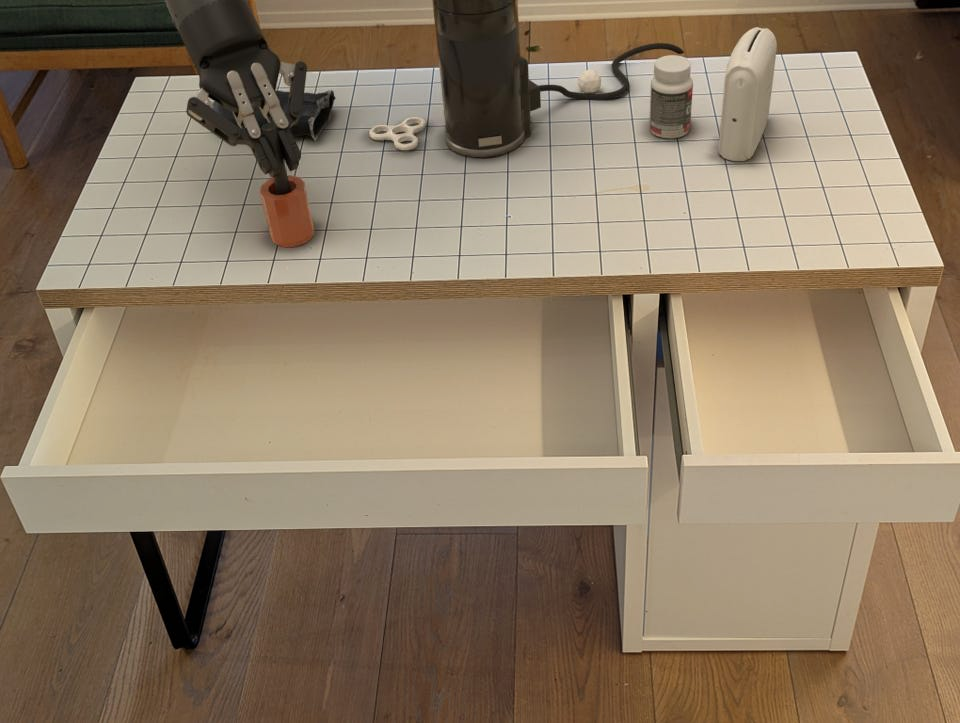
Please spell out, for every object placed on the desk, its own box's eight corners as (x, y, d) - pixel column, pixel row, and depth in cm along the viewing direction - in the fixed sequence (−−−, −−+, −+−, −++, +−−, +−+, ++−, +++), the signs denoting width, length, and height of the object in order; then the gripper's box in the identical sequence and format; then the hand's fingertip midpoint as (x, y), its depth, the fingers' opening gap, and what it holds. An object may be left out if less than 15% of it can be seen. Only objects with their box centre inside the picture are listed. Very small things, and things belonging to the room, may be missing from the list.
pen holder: (303, 217, 118) (293, 170, 114) (321, 236, 115) (311, 189, 111) (264, 232, 116) (253, 185, 112) (282, 252, 113) (270, 204, 109)
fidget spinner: (422, 119, 132) (421, 113, 131) (438, 144, 127) (437, 138, 126) (367, 132, 130) (366, 126, 130) (381, 158, 126) (380, 152, 125)
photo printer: (751, 165, 119) (763, 61, 111) (713, 159, 121) (722, 56, 112) (771, 120, 126) (784, 19, 118) (735, 115, 127) (745, 15, 119)
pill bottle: (693, 137, 124) (698, 70, 119) (653, 141, 124) (656, 74, 119) (685, 117, 128) (689, 51, 122) (645, 121, 128) (648, 55, 122)
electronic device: (340, 114, 137) (228, 95, 139) (337, 78, 133) (221, 59, 134) (317, 161, 131) (201, 141, 133) (313, 125, 127) (193, 104, 129)
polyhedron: (601, 86, 135) (601, 64, 133) (600, 98, 133) (601, 76, 131) (578, 87, 135) (578, 65, 133) (577, 98, 133) (577, 76, 131)
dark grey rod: (295, 220, 115) (272, 120, 107) (301, 226, 114) (278, 126, 106) (282, 225, 115) (258, 125, 107) (288, 231, 114) (264, 131, 106)
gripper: (148, 17, 102) (226, 183, 102) (279, -22, 107) (354, 136, 107) (146, 50, 109) (219, 205, 109) (269, 11, 114) (339, 160, 114)
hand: (285, 170), depth 108 cm, fingers closed on dark grey rod, 1 cm apart
